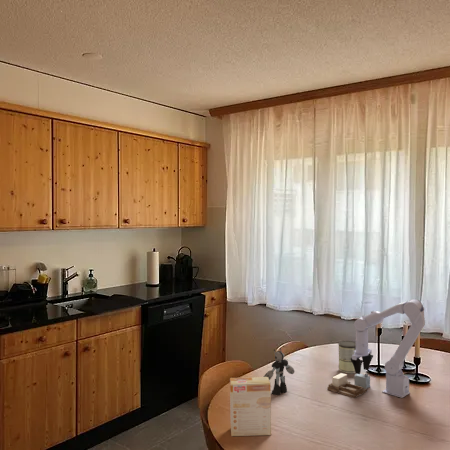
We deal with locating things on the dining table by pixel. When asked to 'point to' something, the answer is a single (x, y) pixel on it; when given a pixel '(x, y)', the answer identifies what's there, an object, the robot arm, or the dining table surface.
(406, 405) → the dining table surface
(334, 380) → the cream rectangular block
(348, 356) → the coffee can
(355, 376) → the blue box with knob
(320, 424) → the dining table surface
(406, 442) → the dining table surface
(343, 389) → the jig
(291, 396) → the dining table surface
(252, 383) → the coffeecake box
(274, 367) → the robot
